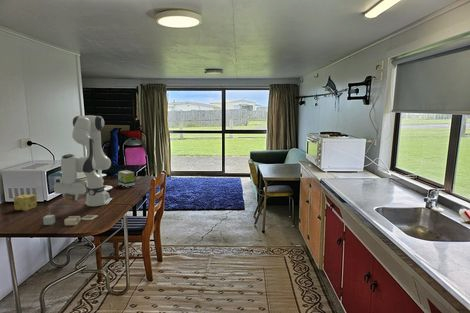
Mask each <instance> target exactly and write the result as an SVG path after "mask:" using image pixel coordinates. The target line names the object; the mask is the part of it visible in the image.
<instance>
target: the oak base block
mask: <svg viewBox="0 0 470 313" xmlns="http://www.w3.org/2000/svg"><path fill="white" fill-rule="evenodd" d="M63 222H64V226H77V225H78V224H79V223H80V222H81V215H70V216H68V217H66V218H65V219H64V221H63Z"/></svg>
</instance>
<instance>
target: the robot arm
mask: <svg viewBox="0 0 470 313" xmlns="http://www.w3.org/2000/svg"><path fill="white" fill-rule="evenodd" d="M72 126H73V130H72V135H71V136H72V139H73V141H74V142H76V143H77V144H79V145H81V146H85V149H86V155H85V156H81V157H79V158H78V157H75V156H76V155H75V154H70V153H69V154H64V155H62V156H61V159H60V170H61V177H58V178H55V179H54V180H53V181H54V184H53V185H54V186H53V189H54V190H53V191H54V193H55V194H62V197H63V198H64V200H63V201H65V196H66V195H68V194H75V195H76V196H75V198H74V200H77V201H78V198H79V195H85V194H86V200H85V202H84V204H85V205H86V206H88V207H100V206H104V205H105V206H106V205H108V204H110V203H111V202H112V201H113V200H112V199H113V197H110V193H109V192H108V191H105V189H104V188H106V186H107V185H104V182H103V180H104V177H102V176H101V175H99V174H98V172H97V171H98V170H102V171H105V170H109V169H110V168H111V166H112V161H111V159H110V158H109V157H108V156H107V155H106V154H105V152H104V151H103V146H102V136H101V134H102V133H101V130H103V129H104V127H105V120H104V118H103V116H100V115H89V114H88V115H76V116H75V117H73V119H72ZM78 173H84V175H85V177H86V180H87V181H85V180H83V179H78ZM86 182H87V183H88V184H87V185H88V187H87V186H86ZM111 200H112V201H111ZM110 201H111V202H110Z"/></svg>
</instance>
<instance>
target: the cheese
mask: <svg viewBox="0 0 470 313" xmlns="http://www.w3.org/2000/svg"><path fill="white" fill-rule="evenodd" d="M37 199H38V198H37V195H36V194H20V195H18V196H15V197H13V204H14V205H13V206H14V210H16V211H24V212H26V211H29V210H33V209H35V208H37V206H38V203H37V202H38V200H37Z"/></svg>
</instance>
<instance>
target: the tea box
mask: <svg viewBox="0 0 470 313" xmlns="http://www.w3.org/2000/svg"><path fill="white" fill-rule="evenodd" d="M117 175H118V176H117V177H118V179H117V180H118V186H120V185H122V186H121V187H123V186H125V187H127V186H132V185H135V183H136V182H135V172H134V171H131V170H127V169H125V170H120V171H117ZM125 187H124V188H125ZM132 187H133V186H132ZM127 188H128V187H127Z"/></svg>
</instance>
